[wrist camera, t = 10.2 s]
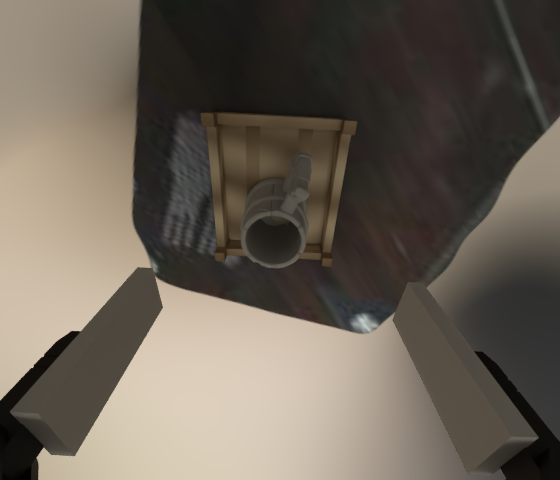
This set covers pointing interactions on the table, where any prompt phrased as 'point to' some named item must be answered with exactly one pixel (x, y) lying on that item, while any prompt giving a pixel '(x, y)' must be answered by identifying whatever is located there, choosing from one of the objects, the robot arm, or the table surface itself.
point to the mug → (278, 202)
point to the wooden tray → (275, 171)
